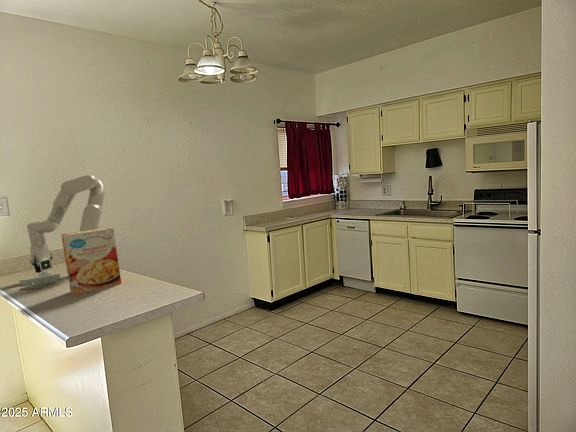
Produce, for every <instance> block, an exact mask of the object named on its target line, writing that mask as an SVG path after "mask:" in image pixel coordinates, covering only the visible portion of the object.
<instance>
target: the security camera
mask: <svg viewBox="0 0 576 432" xmlns="http://www.w3.org/2000/svg"><path fill="white" fill-rule="evenodd" d="M51 263H52V261H51V259H49V258H47V259H44V260H41V261H40V262H39V266H40V269H41V272H40V273H38V277H43V276H49V275H53V273H52V271H49V270H52V269H53V268H52V267H53V264H51ZM36 264H37V263H36ZM44 271H45V272H44Z"/></svg>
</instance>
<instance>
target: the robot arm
mask: <svg viewBox="0 0 576 432" xmlns="http://www.w3.org/2000/svg"><path fill="white" fill-rule="evenodd" d="M87 190H89V195H88V200H87V203H86V204H87V205H86V206H85V207H84V209H83V212H82V217H81V222H80V226H79V232H82V231H88V230H95V229H100V227H99V223H100V219H101V215H102V210H103V205H104V199H105V186H104V184H103V183H102V181H101V180H100V179H99V178H97V176H95V175H92V174H86V175H83V176H82V175H81V176H79V177H76V178H75V177H74V178H73V179H69V180H65V181H64V182H62V183H61V185H60V190H59V192H58V194H57V195H56V197H55V199H54V200H53V202H52V207H51V208H52V209H51V211H50V213H49V215H48V217H47V218H46V220H44V221H33V222H29V223H27V224H26V229H27V232H28V237H29V242H30V251H29V252H30V257H31V259H29V263H30V264H31V265H32V266H33V267H34V271H35V273H36V274H41V273H42V272H41V269H40V266H39V262H40V261H41V260H44V259H47V258H49V259H51V264H52V263H53V262H52V261H53V256H54V254H53V252H50V250H49V249H50V248H49V246H48V243H47V241H46V237H45V233H46V234H47V233H53V232H55V231H56V230H57V229H58V227H59V226H60V225H61V222H62V220H63V218H64V217H65V215H66V214H67V211H68V210H69V208H70V206H71V204H72V202H73V200H74V198H75V197H76V195H77V194H78V193H82V192H85V191H87ZM36 263H37V264H36ZM52 265H53V264H52ZM51 269H53V266H52V268H51Z"/></svg>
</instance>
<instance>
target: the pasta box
mask: <svg viewBox="0 0 576 432" xmlns="http://www.w3.org/2000/svg"><path fill="white" fill-rule="evenodd" d="M61 242H62V246H63V247H62V248H63V253H64V260H65V266H66V271H67V277H68V278H67V279H68V282H69V283H68V285H69V290H70V293H71V295H72V296H75V295H79V294H84V293H88V292H92V291H97V290H100V289H106V288H109V287H114V286H117V285H122V279H121V278H122V277H121V272H120V265H119V264H120V263H119V259H118V251H117V245H116V244H117V243H116V237H115V232H114V227H110V226H109V227H103V228H102V227H101V228H99V229H95V230H88V231H82V232H80V231H76V232H70V233H64V234H61Z"/></svg>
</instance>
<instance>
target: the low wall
mask: <svg viewBox="0 0 576 432" xmlns="http://www.w3.org/2000/svg"><path fill="white" fill-rule="evenodd" d="M57 280H61V274H60V273H56V274H51V275H47V276H43V277H40V276H38V277H33V278H27V279H21V280H19V285H20V287H22V286H21V285H23V286H26V285H27V284H29V285H31V284H32V283H38V282H45V281H46V282H53V281H57ZM27 286H28V285H27Z"/></svg>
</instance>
